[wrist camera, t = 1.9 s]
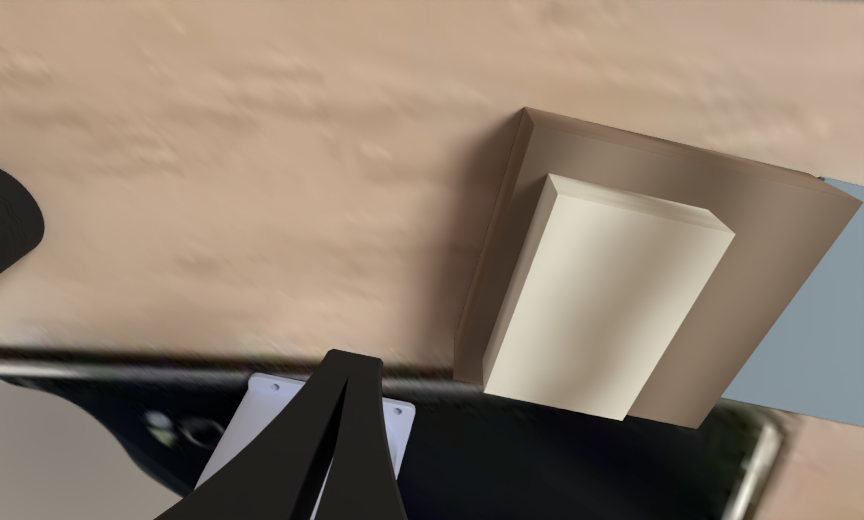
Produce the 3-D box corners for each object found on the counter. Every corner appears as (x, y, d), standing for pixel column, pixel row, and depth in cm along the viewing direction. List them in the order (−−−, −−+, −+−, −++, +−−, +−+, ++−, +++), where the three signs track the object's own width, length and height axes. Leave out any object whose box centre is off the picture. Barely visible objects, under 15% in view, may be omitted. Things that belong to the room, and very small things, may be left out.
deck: (454, 338, 24) (453, 379, 22) (524, 106, 18) (534, 125, 16) (672, 383, 25) (697, 428, 22) (809, 173, 19) (863, 202, 16)
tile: (482, 359, 21) (483, 392, 19) (548, 173, 17) (558, 194, 15) (609, 386, 21) (622, 420, 20) (707, 209, 17) (735, 234, 15)
